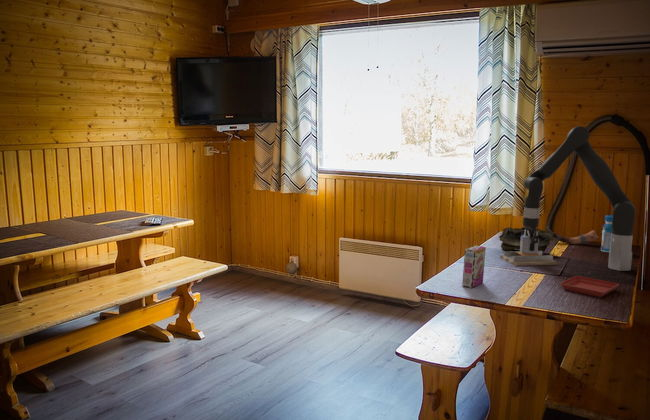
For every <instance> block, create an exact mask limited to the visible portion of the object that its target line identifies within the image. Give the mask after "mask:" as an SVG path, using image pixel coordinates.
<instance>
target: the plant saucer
mask: <svg viewBox="0 0 650 420" xmlns="http://www.w3.org/2000/svg"><path fill="white" fill-rule="evenodd" d="M560 285H561V287H562V288H563V289H564V290H567V291H571V292H574V293H575V292H576V293H580V294H583V295H588V296H593V297H598V298H601V297H603V296H606V295H607V294H609V293H611V292H613V291H615V289H617V288H618V286H619V285H620V284H619V283H617V282H612V281H607V280H602V279H596V278H592V277H587V276H581V275H575V276H573V277H571V278H569V279H566V280H564V281H562V282H560Z"/></svg>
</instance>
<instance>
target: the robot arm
mask: <svg viewBox="0 0 650 420" xmlns="http://www.w3.org/2000/svg"><path fill="white" fill-rule="evenodd" d="M589 139H590V131H589V130H588V128H587V127H585V126H582V125H581V126H580V125H579V126H578V125H577V126H575V127H573V128H572V129H570V131H568V133H567V134H566V139H565V140H564V142H563V143H562V144H561V145H560V146H559V147H558V148H557V149H556V150H555V151H554V152H553V153H551V155H549V156H548V158H547V159H546V160H545V161H544V162H543V163H542V164H541V165H540V167H538V168H537V169H536V170H535V171H533V172H532V173H531V174H530V175H528V177H526V179H525V180H524V187H525V189H526V190H528V193H527V196H526V197H525V199H524V209H523V216H522V217H523V218H522V225H523V227H521V228H520V229H521V233H522V236H528V237H529V239H530V251H534V247H535V243H538V239H539V234H540V233H539V232H537V231H536V229H537V227H539V226H540V225H539V224H540V205H541V201H540V200H541V197H542V194H543V190H544V181H545V180H546V179H549V178H551V177H552V176H553V175H554V174H555V172H557V171H558V170H559V168H560V167H562V165H563V163H564V162H565V161H566V160H567V159H568V158H569V157H570V156H571V155H572V153H574V152H575V153H576V155H577V156H578V157H579V159H580V160H581V162H582V164H583V166H584V168H585V169H586V171H587V173H588V174H589V176H590V178H591V179H592V181H593V182H594V184H595V186H597V187H598V188H599V190H600V191H601V192H602V193H603V194H604V195H605V196H606V197H607V199H608V201H609V203H610V205H611V206H612V209H613V212H612V215H613V219H612V233H611V242H610V252H609V254H608V265H607V267H608V268H609V269H611V270H614V271H619V272H622V271H627V272H628V271H631V267H632V261H633V251H632V245H633V238H634V237H633V235H634V227H635V226H634V225H635V217H636V211H637V209H636V207H635V205H634V203H633V202H632V200H630V199H629V198H628V196H627V195H626V194H625V192H624V191H623V190H622V188H621V186H620V184H619V182H618V179H617V178H616V176H615V175H614V172H613V171H612V170H611V168H610V166H609V165H608V164H607V162H606V161H605V159H604V158H602V157H601V156H600V155H599V154H598V153H597V152H596V151H595V150H594V149H593V147H592V145H591V143H590V142H589ZM535 239H536V240H535Z"/></svg>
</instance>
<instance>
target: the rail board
mask: <svg viewBox="0 0 650 420" xmlns="http://www.w3.org/2000/svg"><path fill="white" fill-rule="evenodd" d="M499 258H500V259H501V260H503V261H506V262H507V263H509V264H511V265H514V266H515V267H517V266H518V267H519V266H525V267H526V266H556V265H557V261H556V260H555V259H554V260H552V261H512V260H510V259H508V258H506V257H504V254H501V255H500V257H499Z"/></svg>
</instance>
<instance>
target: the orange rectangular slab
mask: <svg viewBox="0 0 650 420" xmlns="http://www.w3.org/2000/svg"><path fill="white" fill-rule="evenodd" d="M517 253H518V254H520V255H522V256H540V254H522V253H521V252H517Z"/></svg>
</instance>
